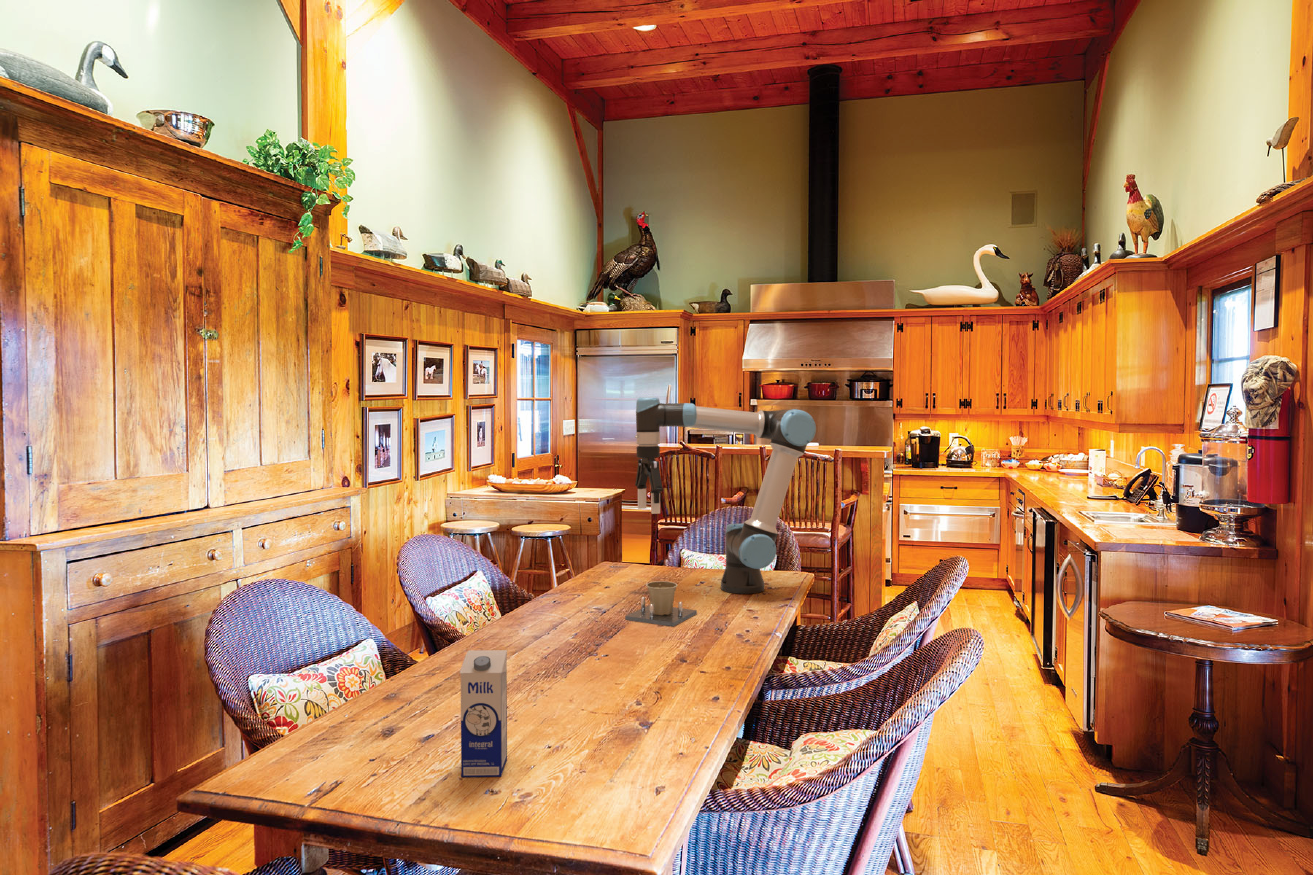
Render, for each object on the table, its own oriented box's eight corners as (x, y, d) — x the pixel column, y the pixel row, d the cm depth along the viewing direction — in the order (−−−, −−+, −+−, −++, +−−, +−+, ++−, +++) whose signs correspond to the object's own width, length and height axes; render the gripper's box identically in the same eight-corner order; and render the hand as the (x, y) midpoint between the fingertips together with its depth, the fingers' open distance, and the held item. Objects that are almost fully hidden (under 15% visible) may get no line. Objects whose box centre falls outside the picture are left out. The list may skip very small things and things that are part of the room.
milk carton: (508, 759, 142) (507, 648, 141) (502, 776, 135) (501, 660, 134) (468, 759, 142) (467, 649, 141) (460, 777, 135) (459, 661, 134)
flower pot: (677, 617, 234) (677, 588, 234) (645, 616, 235) (645, 587, 234) (677, 609, 244) (677, 581, 243) (646, 608, 244) (646, 580, 244)
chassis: (650, 607, 250) (650, 591, 250) (696, 614, 243) (696, 597, 242) (625, 619, 236) (625, 602, 236) (673, 626, 228) (673, 608, 228)
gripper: (625, 444, 266) (626, 507, 267) (649, 447, 242) (650, 516, 243) (646, 443, 268) (647, 505, 269) (672, 446, 245) (673, 515, 246)
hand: (648, 511), depth 256 cm, fingers open, 13 cm apart
